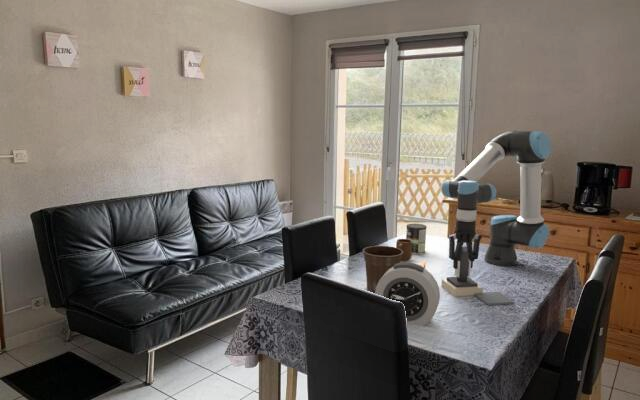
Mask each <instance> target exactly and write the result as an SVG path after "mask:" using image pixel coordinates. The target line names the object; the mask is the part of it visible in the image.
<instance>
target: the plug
mask: <svg viewBox="0 0 640 400" xmlns="http://www.w3.org/2000/svg"><path fill="white" fill-rule="evenodd" d="M458 261H460V273H459V277H456V276H447V277H446V279H447V281H449V282H450V283H451V284H452V285H454V286H455V287H456V288H457V287H477V286H478V285H479V284H478V283H477V282H476V281H475V280H473V279H472V278H470V277H468V276H467V275H468V261H469V252H468V251H467V246H464V245H463V246H462V249H461V253H460V256H459V260H458Z"/></svg>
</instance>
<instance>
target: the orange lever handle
mask: <svg viewBox="0 0 640 400" xmlns="http://www.w3.org/2000/svg"><path fill="white" fill-rule="evenodd" d="M419 265H420V266H422V267H423V268H424V269H426V261H420V262H419Z"/></svg>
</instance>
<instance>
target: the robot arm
mask: <svg viewBox="0 0 640 400" xmlns="http://www.w3.org/2000/svg"><path fill="white" fill-rule="evenodd" d="M551 150H552V143H551V139H550V137H549V135H548V134H547V133H546V132H544V131H536V130H509V131H506V132H503V133H501V134H500V135H498V136H495V137H494V138H492V140H491V141H489V142H487V144H486V145H485V148H484V150H483V151H482V152H481V153H480V154H478V156H477V157H476V158H475V159H473V160H472V162H471V163H470V164H469V165H467V166H466V167H465V168H464V169H463V170H462V171H461V172H460V173H459V174H458V175H457V176H456V177H455V178H454V179H446V180H444V181H443V183H442V185H441V193H442V195H443V196H444V197H446V198H451V199H456V200H457V206H456V217H455V218H456V220H455V231H454V233H453V234H448V239H449V243H448V245H449V247H448V248H449V249H448V257H449V259H450V260H452V262H453V263H452V264H453V265H452V267H453V268H454V277H459V273H460V261H458V260H459V256H460V253H461V249H462V246H464V244H466V247H467V251H468V252H469V261H468V275H467V277H469V278H470V277H471V269H473V266H474V265H473V264H474V262H475V260H478V259H479V253H480V243H481V242H480V241H481V240H482V235H480V234H479V233H476V226H477V221H476V220H477V210H478V209H477V207H478V204H482V203H483V204H484V203H485V204H486V203H489V202H491V201H493V200H495V199H496V197H497V193H498V192H497V189H496V187H495V186H494V184H491V183H485V182H484V183H479V182H478V181H479V180H480V179H481V178H482V177H483V176H485V174H486V173H488V171H489V170H490V169H491V168H492V167H494V166H495V164H496V163H497V162H499V161H502V160H504V158H506V157H515V158H516V163H517V164H518V165H519V170H520V172H519V174H520V175H519V178H520V179H519V181H520V182H519V183H520V184H519V185H520V187H519V188H520V190H519V192H520V193H519V195H520V196H519V200H520V201H519V202H520V203H519V207H520V208H519V216H518V217H517V215H513V214H503V215H502V214H501V215H494V216H492V217H491V220H490V226H489V227H490V229H489V243H488V247H487V249H486V251H485V254H484V261H485V262H486V263H488V264H491V265H495V266H503V267H505V266H506V267H507V266H508V267H509V266H515V265H517V264H518V257H517V252H516V249H515V245H518V246H523V247H527V248H529V249H537V250H538V249H542V248H543V247H544V245H545V244H546V243H547V241H548V239H549V235H550V226H549V225H548V224H545V218H544V217H543V216H542V215H541V214H542V213H541V207H542V204H541V203H542V201H541V200H542V195H541V194H542V191H541V190H542V165H543V164H545V162H546V159H548V158H549V156H550V154H551ZM473 239H474V240H473Z"/></svg>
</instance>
